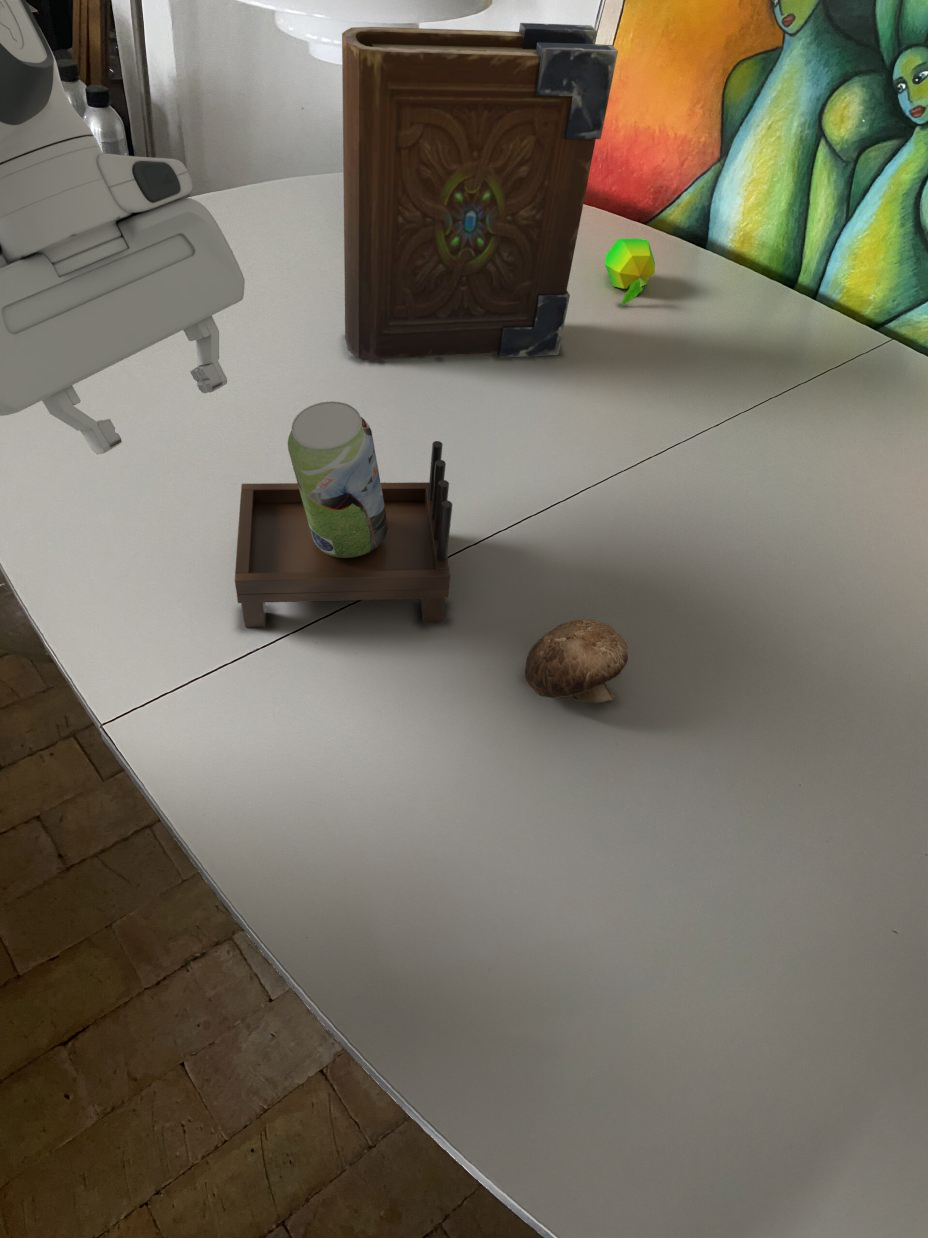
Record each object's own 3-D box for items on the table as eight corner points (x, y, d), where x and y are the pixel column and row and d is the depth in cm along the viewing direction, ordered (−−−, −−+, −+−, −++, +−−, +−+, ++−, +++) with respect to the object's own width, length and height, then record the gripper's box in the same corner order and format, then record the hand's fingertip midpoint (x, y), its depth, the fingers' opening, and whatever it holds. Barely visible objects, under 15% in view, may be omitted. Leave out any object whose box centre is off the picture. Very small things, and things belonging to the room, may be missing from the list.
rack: (241, 629, 68) (225, 525, 60) (247, 532, 75) (234, 427, 67) (445, 623, 70) (456, 522, 62) (432, 529, 77) (441, 428, 69)
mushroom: (657, 704, 63) (629, 630, 60) (554, 747, 63) (523, 675, 61) (626, 660, 70) (601, 593, 68) (535, 698, 70) (506, 633, 68)
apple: (626, 214, 107) (655, 248, 101) (653, 246, 111) (682, 280, 106) (583, 258, 110) (608, 293, 104) (610, 287, 114) (637, 323, 109)
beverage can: (401, 549, 70) (407, 425, 61) (319, 582, 67) (313, 457, 58) (361, 503, 73) (362, 379, 64) (281, 533, 70) (270, 407, 61)
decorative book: (540, 321, 103) (591, 24, 80) (558, 355, 98) (618, 50, 76) (341, 330, 98) (337, 15, 75) (351, 366, 93) (350, 42, 71)
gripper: (-90, 260, 46) (55, 490, 53) (203, 154, 58) (292, 354, 64) (-123, 281, 51) (16, 491, 57) (156, 178, 62) (245, 363, 69)
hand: (164, 417), depth 61 cm, fingers open, 8 cm apart
